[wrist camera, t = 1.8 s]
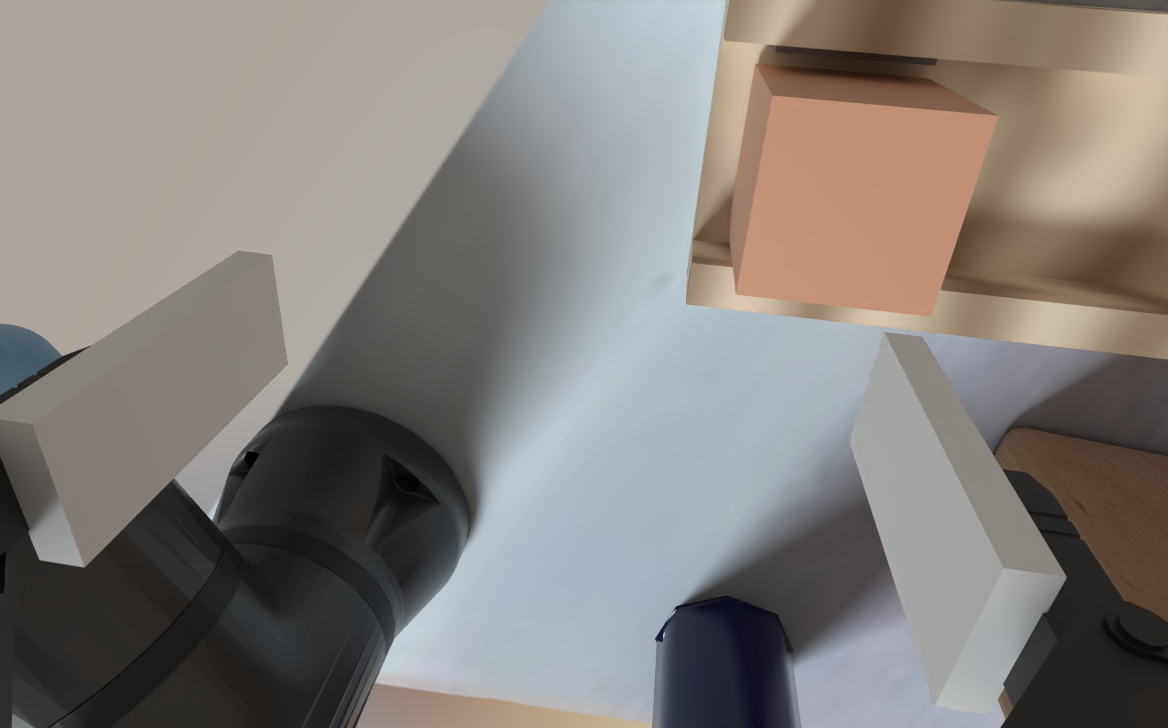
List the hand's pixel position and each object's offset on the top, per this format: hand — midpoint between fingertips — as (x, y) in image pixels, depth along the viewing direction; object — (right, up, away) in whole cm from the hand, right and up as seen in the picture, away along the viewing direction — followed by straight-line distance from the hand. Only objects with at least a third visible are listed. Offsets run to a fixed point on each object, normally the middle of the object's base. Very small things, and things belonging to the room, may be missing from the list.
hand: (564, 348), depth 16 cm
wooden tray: (+18, +9, +16) cm, 26 cm away
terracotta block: (+11, +9, +16) cm, 21 cm away
